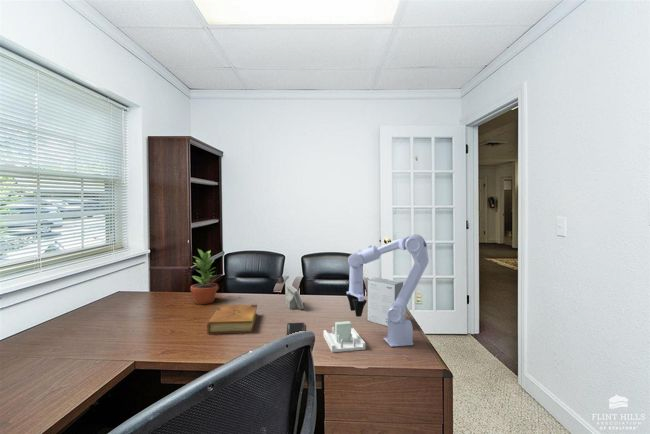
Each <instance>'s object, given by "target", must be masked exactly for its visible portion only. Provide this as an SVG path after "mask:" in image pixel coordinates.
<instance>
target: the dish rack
mask: <svg viewBox="0 0 650 434" xmlns="http://www.w3.org/2000/svg"><path fill="white" fill-rule="evenodd" d="M331 328H332V331H331V332H330V333H329V332H327V330H326V329H323V338H324V339H325V340H324V341H325V342H326V344H327V345H328V347H329V350H330V351H331V353H339V352H349V351H350V352H351V351H352V352H353V351H360V350H361V351H364V350H366V342H365V341H364V339H363V338H362V337H361V336H360V335H359V333H358V332H357V331H356V329H355V328H354V327H351V334H350V341H343V340H342V339H341V342H340V335H338V342H336V340H335V326H332V327H331Z"/></svg>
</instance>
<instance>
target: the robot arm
mask: <svg viewBox="0 0 650 434" xmlns="http://www.w3.org/2000/svg"><path fill="white" fill-rule="evenodd" d="M398 249H399V250H403V251H405V250H406V251H407V252H408V253H409V254H410V255H411V257H412V259H413V262H414V264H413V265H412V267H411V269H410V271H409V272H408V273H409V274H408V275H407V276H406V277H407V278H406V280H405V281H404V282H403V287H402V289H401V291H400V293H399V295H398V297H397V299H396V301H395V302H394V303H393V304H392V306H391V307H390V308H389V309H388V311H387V317H388V326H387V335H386V336H387V337H383V340H384V341H385V342H386V343H387V344H388V345H389V346H390V347H391V348H393V347H394V348H395V347H403V346H404V347H405V346H413V345H414V342H413V337H414V331H413V330H414V328H413V324H412V322H411V320H410V319H407V318H406V316H405V315H406V313H407V312H408V311H407V310H408V307H407V306H408V304H409V301H411V300H410V299H411V298H412V296H413V294H414V292H415V290H416V288H417V286H418V284H419V282H420V280H421V278H422V276H423V274H424V272H425V270H426V268H427V266H428V264H429V263H430V262H429V252H428V244H427V242H426V240H425V239H424V237H423V236H422V235H420V234H413V235H411V236H405V237H401V238H398V239H395V240H392V241H391V242H388V243H386V244H384V245H381V246H376V245H372V244H371V245H368V246H367V248H364V249H359V250H357V252H354V253H352V254H350V255H349V256H348V258H347V264H348V265H349V274H348V275H349V278H348V279H349V283H348V284H349V286H348V291H346V294H345V295H346V297H347V299H348V303H349V309H350V311H351V312H352V311H353V312H354V311H355V312H354V313H355V317H356V318H357V317H358V318H359V317H362V315H363V312H364V308H365V306H366V304H367V299H365V296H364V264H369V263H371V262H375V261H376V260H379V259H380V258H381V256H382V255H384V254H387V253H390V252H392V251H396V250H398Z"/></svg>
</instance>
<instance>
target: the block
mask: <svg viewBox="0 0 650 434" xmlns="http://www.w3.org/2000/svg"><path fill="white" fill-rule="evenodd" d="M351 328H352V322H351V321H349V320H347V321H346V320H345V321H335V322H334V333H335V340H336V342H338V335H340V342H341V339H342V340H343V341H350V334H351Z"/></svg>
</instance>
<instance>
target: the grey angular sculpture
mask: <svg viewBox="0 0 650 434" xmlns="http://www.w3.org/2000/svg"><path fill="white" fill-rule="evenodd" d="M286 289H287V291H288V292H287V293H288V294H287V295H286V296H285V303H284V304H285V306H286V307H287V308H288V309H289V310H296V309H297V310H302V311H303V310H304V308H305V307H304V304H303V301H302V299H301V296H300V292H299V291H298V290H297V288H295V287H294V286H293V285H292V284H287V285H286Z"/></svg>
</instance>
